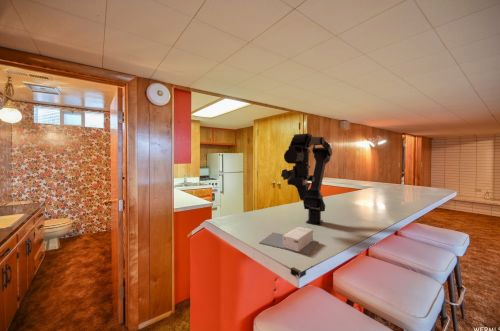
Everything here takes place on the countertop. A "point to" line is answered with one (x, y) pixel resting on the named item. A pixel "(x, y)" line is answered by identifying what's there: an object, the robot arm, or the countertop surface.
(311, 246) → the mat
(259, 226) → the countertop surface
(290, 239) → the skincare box
